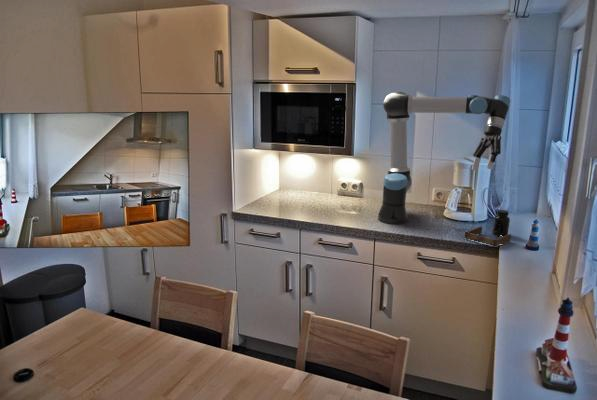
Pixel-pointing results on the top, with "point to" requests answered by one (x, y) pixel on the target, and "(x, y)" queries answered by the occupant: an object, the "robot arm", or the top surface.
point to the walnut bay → (473, 236)
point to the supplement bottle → (501, 223)
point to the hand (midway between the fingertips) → (481, 169)
